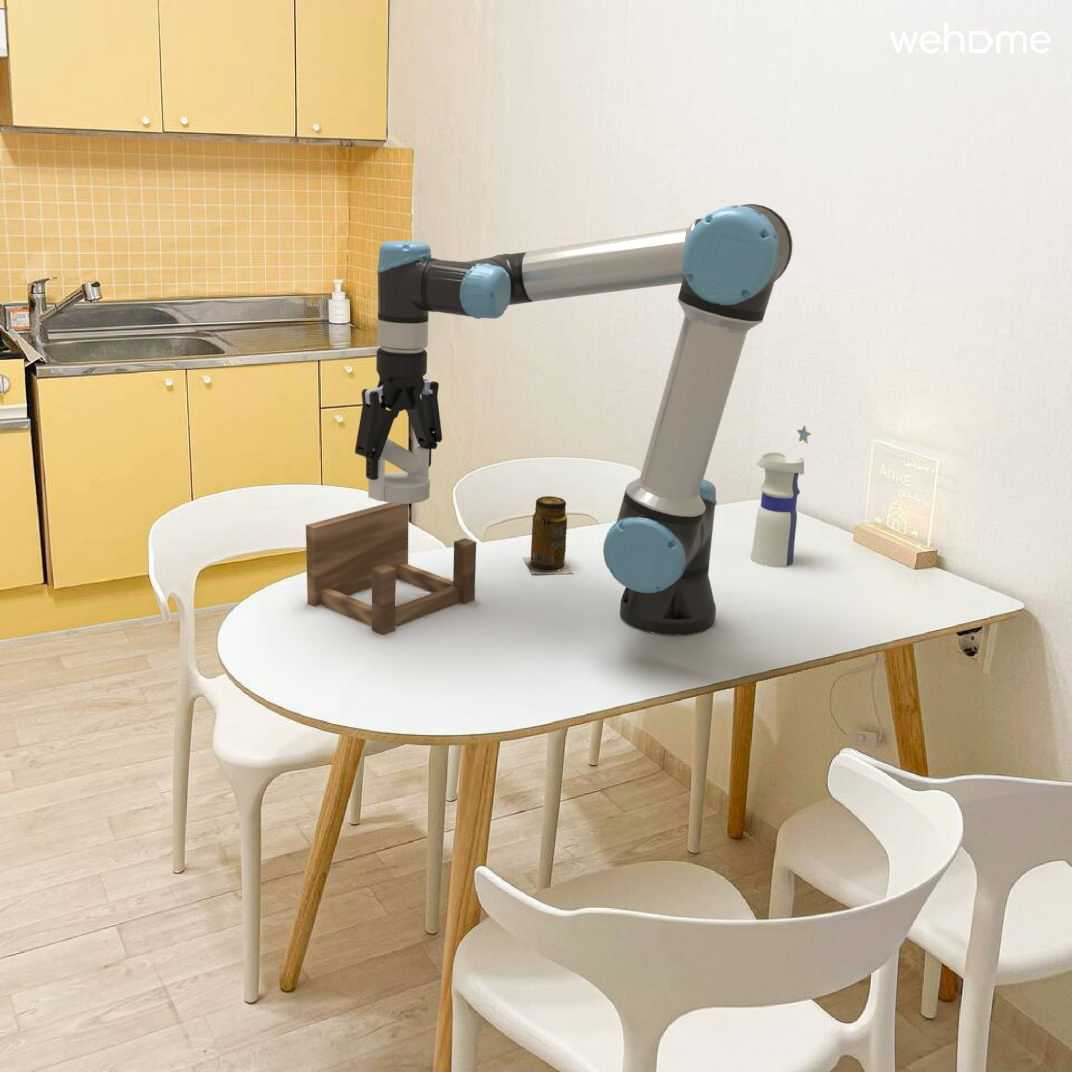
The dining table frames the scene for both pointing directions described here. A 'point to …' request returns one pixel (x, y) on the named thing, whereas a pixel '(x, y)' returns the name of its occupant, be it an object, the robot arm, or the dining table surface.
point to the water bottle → (777, 509)
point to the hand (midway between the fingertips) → (398, 493)
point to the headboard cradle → (379, 568)
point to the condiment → (548, 537)
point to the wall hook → (404, 476)
